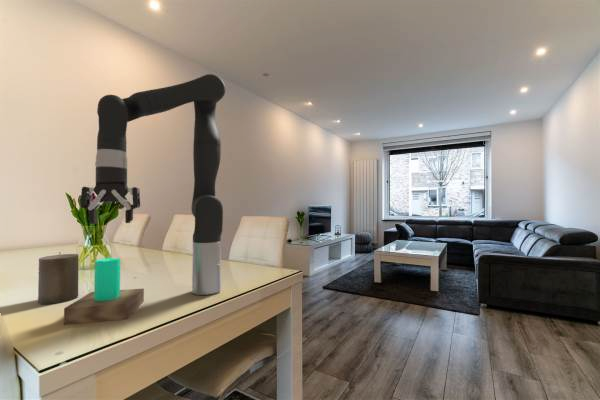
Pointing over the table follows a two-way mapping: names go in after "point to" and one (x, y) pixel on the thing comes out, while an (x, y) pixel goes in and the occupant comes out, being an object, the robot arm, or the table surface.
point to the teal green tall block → (107, 279)
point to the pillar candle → (58, 278)
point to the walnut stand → (103, 307)
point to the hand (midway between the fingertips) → (111, 223)
